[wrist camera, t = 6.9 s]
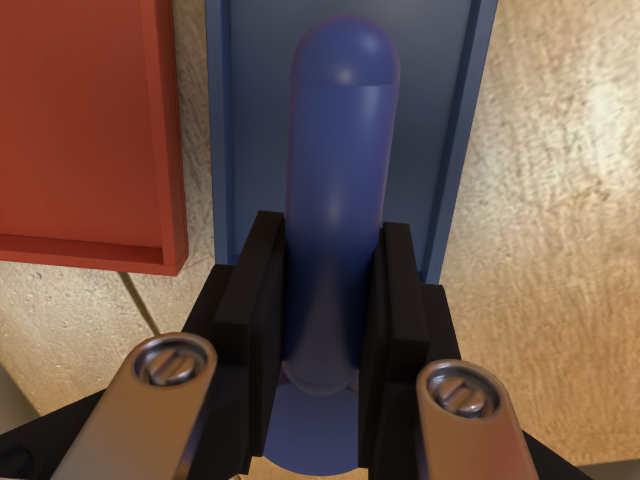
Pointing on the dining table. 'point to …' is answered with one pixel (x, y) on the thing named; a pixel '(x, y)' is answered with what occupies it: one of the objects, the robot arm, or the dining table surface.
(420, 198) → the blue tray
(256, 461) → the dining table surface
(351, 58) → the blue spoon
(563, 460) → the robot arm
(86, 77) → the red tray
